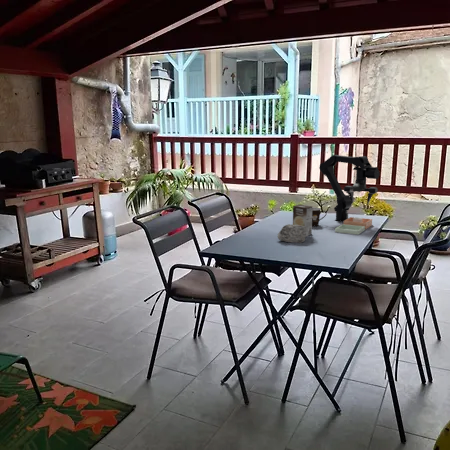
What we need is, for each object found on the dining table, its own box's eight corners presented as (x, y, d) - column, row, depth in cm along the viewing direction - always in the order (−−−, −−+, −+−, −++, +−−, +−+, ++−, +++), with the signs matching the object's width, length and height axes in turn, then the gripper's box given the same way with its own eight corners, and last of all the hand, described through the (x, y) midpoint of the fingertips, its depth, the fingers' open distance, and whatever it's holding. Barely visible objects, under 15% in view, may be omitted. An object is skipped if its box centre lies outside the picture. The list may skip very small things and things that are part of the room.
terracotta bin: (343, 227, 268) (343, 220, 267) (350, 223, 278) (350, 217, 277) (365, 230, 261) (366, 223, 260) (371, 225, 271) (372, 219, 270)
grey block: (352, 226, 269) (352, 218, 268) (355, 224, 273) (355, 217, 272) (360, 227, 267) (360, 219, 266) (362, 225, 270) (363, 218, 269)
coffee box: (291, 234, 256) (292, 206, 252) (298, 232, 260) (298, 204, 257) (306, 237, 250) (306, 207, 246) (312, 234, 254) (313, 206, 251)
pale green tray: (335, 232, 257) (335, 228, 256) (342, 228, 267) (342, 224, 266) (358, 235, 250) (358, 231, 249) (364, 230, 260) (364, 226, 259)
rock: (311, 240, 241) (308, 221, 240) (305, 243, 234) (302, 224, 233) (283, 242, 249) (280, 224, 248) (277, 245, 242) (274, 226, 241)
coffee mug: (304, 226, 274) (304, 209, 272) (307, 223, 282) (307, 207, 279) (323, 227, 269) (324, 210, 267) (326, 224, 277) (327, 208, 275)
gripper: (341, 178, 270) (340, 204, 274) (373, 180, 260) (371, 207, 264) (347, 176, 279) (346, 201, 283) (378, 177, 269) (377, 204, 273)
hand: (360, 203), depth 275 cm, fingers open, 9 cm apart
